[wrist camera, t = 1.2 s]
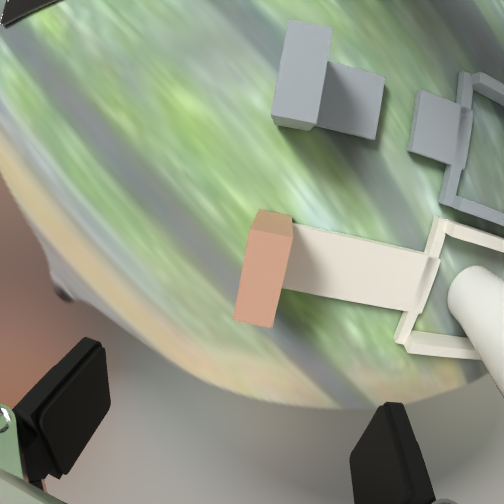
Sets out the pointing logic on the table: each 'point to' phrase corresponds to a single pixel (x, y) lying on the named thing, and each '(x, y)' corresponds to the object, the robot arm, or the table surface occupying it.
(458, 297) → the drinking glass
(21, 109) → the table surface
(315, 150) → the table surface
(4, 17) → the smartphone
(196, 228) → the table surface
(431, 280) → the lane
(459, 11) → the table surface
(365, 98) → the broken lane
